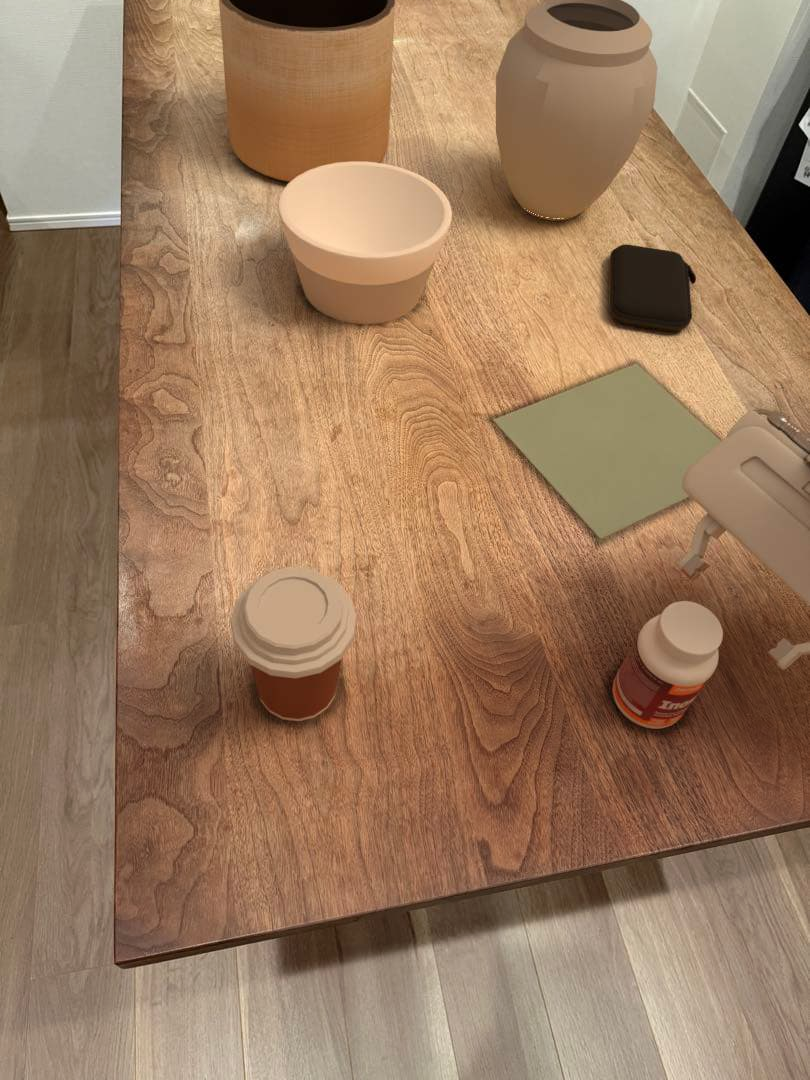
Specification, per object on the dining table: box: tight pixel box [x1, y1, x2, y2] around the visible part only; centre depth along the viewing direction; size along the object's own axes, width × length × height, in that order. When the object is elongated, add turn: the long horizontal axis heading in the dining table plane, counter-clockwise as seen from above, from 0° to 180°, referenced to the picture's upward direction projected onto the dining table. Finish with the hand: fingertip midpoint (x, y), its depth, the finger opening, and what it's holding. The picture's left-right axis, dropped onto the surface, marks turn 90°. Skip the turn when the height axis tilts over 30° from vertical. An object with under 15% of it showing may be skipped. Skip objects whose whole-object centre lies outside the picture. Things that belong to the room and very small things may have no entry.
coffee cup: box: [230, 565, 358, 722], centre depth 67 cm, size 9×9×12 cm
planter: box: [218, 0, 396, 184], centre depth 116 cm, size 22×22×20 cm
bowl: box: [277, 161, 453, 325], centre depth 100 cm, size 19×19×11 cm
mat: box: [492, 363, 722, 540], centre depth 91 cm, size 20×18×1 cm
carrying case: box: [608, 244, 697, 333], centre depth 106 cm, size 11×3×15 cm
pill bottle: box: [612, 600, 724, 730], centre depth 69 cm, size 6×6×11 cm
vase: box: [495, 0, 658, 221], centre depth 109 cm, size 20×20×24 cm
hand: (728, 616), depth 67 cm, fingers open, 8 cm apart
